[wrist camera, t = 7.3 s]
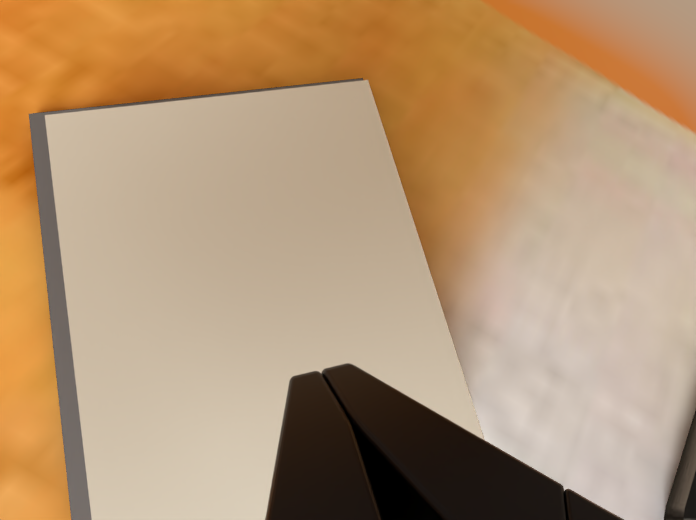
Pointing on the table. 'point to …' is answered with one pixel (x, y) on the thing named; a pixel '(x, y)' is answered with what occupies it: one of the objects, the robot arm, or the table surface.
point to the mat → (59, 306)
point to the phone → (684, 482)
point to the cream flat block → (233, 287)
